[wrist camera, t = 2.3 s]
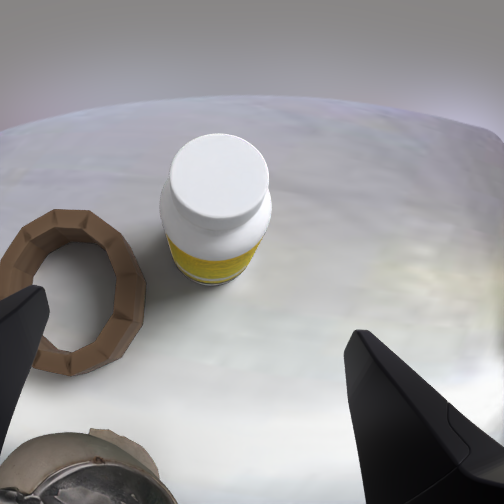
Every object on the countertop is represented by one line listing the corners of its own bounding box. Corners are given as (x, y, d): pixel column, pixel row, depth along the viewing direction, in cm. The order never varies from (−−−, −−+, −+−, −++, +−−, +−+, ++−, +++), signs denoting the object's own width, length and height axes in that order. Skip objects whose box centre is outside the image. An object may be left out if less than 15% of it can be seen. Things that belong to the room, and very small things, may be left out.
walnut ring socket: (48, 390, 17) (27, 395, 14) (5, 262, 19) (-16, 251, 16) (170, 334, 20) (164, 332, 17) (113, 203, 21) (102, 184, 19)
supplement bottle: (262, 273, 22) (306, 219, 12) (183, 296, 20) (165, 256, 11) (238, 201, 23) (261, 111, 13) (163, 220, 22) (139, 135, 12)
